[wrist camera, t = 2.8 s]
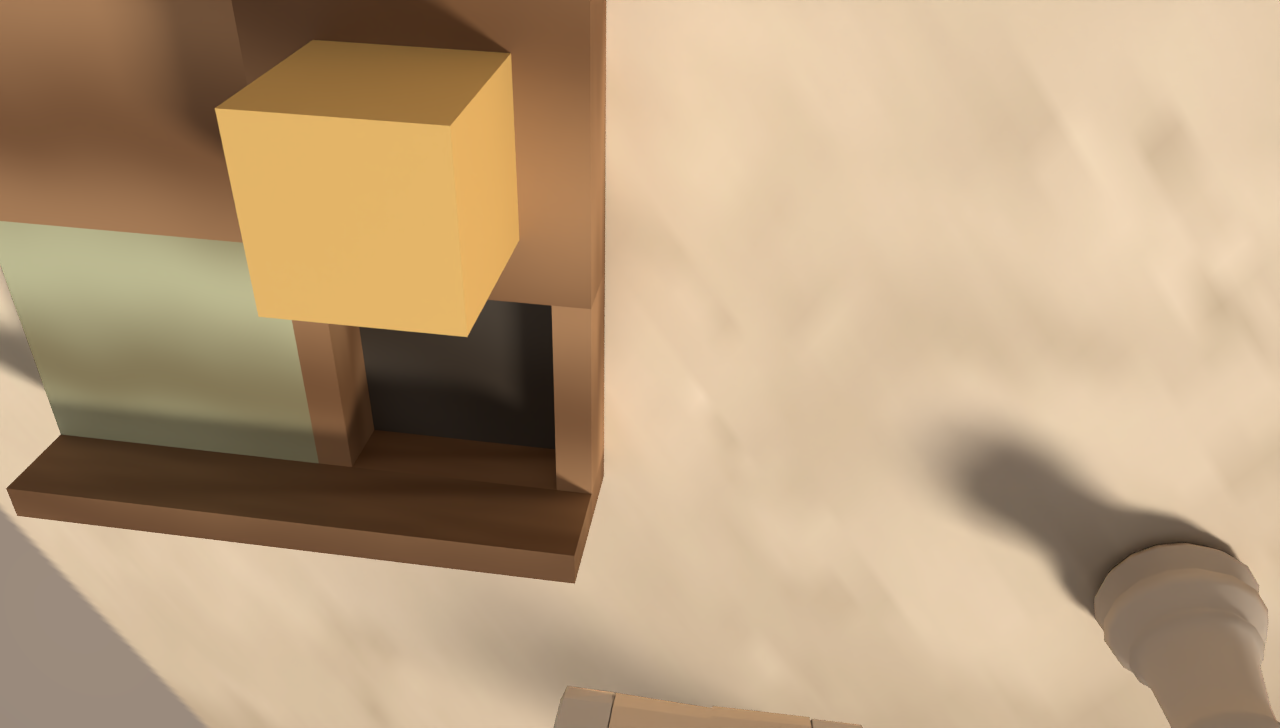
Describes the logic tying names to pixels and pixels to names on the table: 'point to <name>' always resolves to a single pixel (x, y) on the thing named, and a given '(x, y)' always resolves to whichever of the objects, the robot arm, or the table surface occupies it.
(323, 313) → the block
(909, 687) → the table surface
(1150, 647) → the rook chess piece
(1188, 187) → the table surface
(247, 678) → the table surface
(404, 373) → the box
